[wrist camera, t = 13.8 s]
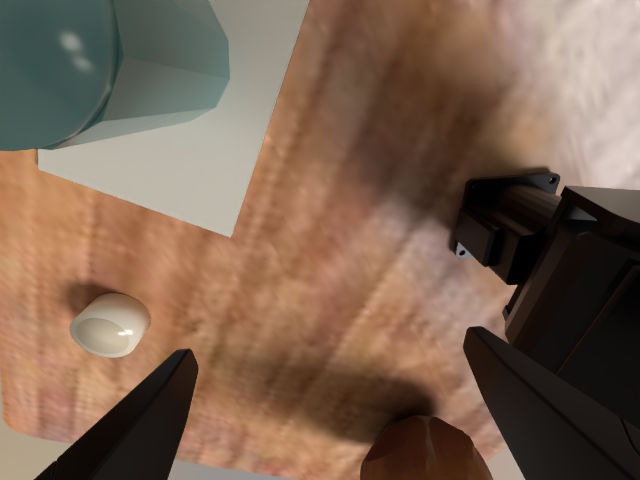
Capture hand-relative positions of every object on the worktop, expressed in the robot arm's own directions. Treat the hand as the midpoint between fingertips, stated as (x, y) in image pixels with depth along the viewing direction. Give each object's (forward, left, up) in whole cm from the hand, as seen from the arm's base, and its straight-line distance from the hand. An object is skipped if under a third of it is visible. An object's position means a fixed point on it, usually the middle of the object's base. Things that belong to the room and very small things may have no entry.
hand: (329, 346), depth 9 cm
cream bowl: (+18, +9, -13) cm, 24 cm away
